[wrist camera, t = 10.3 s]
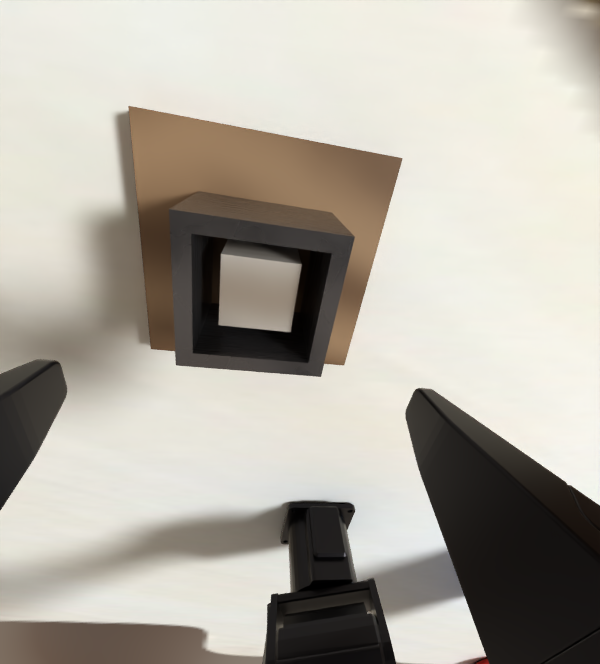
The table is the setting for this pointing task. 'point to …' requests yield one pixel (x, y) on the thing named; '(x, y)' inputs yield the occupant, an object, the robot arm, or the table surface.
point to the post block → (263, 185)
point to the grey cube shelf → (267, 228)
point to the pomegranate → (483, 661)
